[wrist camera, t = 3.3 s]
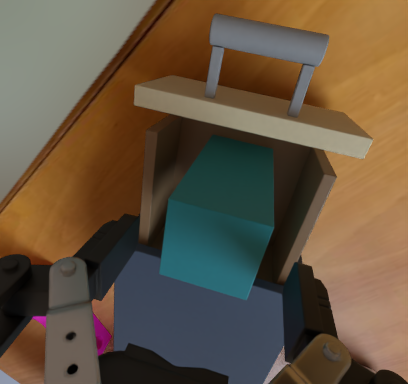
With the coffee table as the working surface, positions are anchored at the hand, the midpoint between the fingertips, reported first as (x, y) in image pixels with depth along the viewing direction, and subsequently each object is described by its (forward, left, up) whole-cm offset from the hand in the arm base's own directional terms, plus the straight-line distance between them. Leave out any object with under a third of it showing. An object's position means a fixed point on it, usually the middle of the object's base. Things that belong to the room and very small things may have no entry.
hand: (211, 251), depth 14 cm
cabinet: (+11, -7, -13) cm, 18 cm away
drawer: (-1, +1, -12) cm, 12 cm away
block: (0, 0, -11) cm, 11 cm away
